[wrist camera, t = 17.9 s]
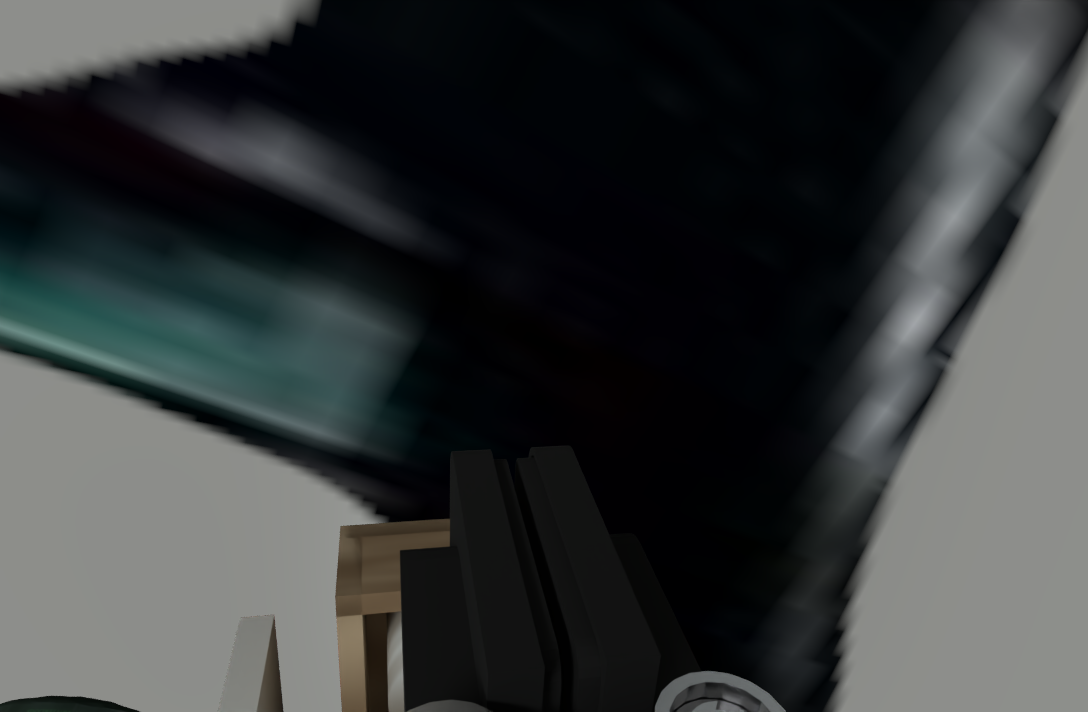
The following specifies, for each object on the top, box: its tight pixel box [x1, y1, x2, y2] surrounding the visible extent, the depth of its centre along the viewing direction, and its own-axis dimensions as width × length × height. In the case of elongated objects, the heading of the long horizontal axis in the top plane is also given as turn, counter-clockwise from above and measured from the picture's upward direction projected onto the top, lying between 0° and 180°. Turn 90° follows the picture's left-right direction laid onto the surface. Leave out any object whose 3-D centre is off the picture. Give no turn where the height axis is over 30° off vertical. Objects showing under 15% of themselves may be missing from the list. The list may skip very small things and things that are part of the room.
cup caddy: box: [335, 519, 450, 712], centre depth 28 cm, size 11×6×6 cm, turn 177°
